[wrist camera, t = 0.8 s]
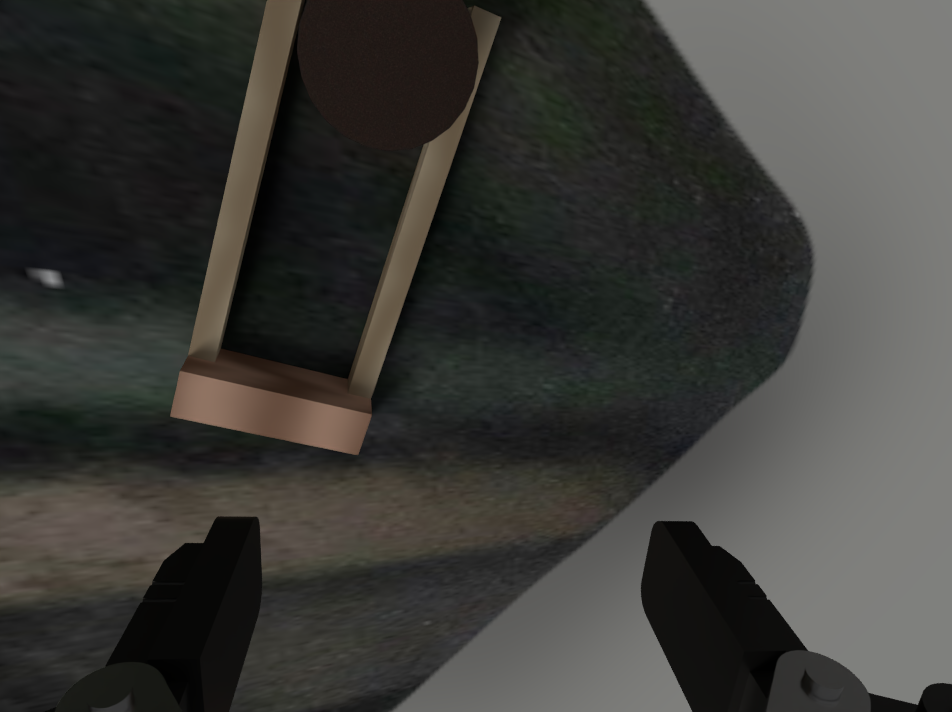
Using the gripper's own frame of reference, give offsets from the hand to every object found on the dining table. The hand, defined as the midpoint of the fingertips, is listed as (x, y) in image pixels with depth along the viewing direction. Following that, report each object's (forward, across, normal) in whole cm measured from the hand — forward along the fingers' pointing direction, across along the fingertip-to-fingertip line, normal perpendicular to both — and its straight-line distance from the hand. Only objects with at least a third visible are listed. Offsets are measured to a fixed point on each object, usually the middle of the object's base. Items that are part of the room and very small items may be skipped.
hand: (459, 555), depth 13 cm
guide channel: (+28, +6, -3) cm, 29 cm away
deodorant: (+28, +3, -11) cm, 30 cm away
